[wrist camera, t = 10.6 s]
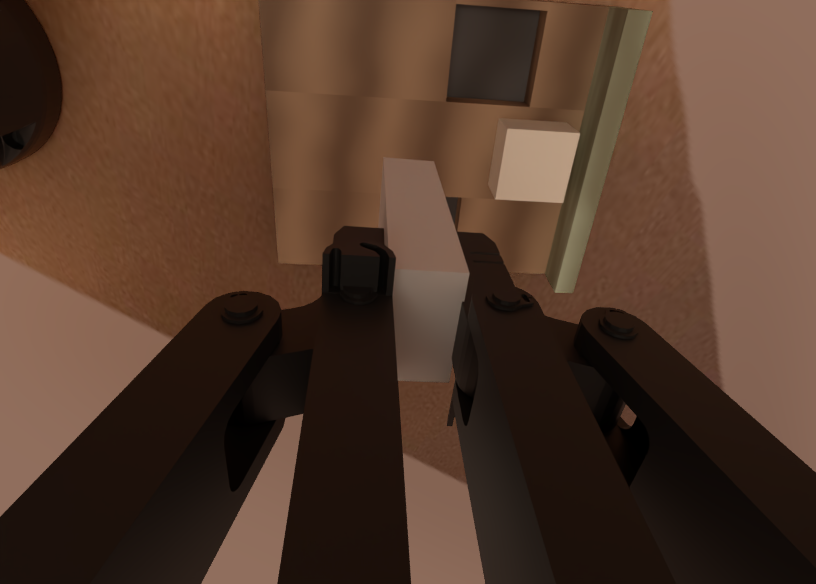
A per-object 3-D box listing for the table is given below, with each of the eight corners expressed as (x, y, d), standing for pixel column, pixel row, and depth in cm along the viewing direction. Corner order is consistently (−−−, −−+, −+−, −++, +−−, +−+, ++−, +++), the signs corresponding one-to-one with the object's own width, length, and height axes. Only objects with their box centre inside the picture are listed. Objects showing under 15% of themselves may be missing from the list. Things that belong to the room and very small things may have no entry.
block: (487, 184, 39) (495, 199, 36) (498, 118, 36) (507, 128, 34) (551, 188, 39) (563, 203, 37) (566, 122, 37) (580, 133, 34)
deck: (282, 252, 43) (271, 281, 39) (263, -22, 33) (245, -21, 29) (555, 263, 45) (572, 293, 41) (619, 7, 35) (652, 11, 30)
